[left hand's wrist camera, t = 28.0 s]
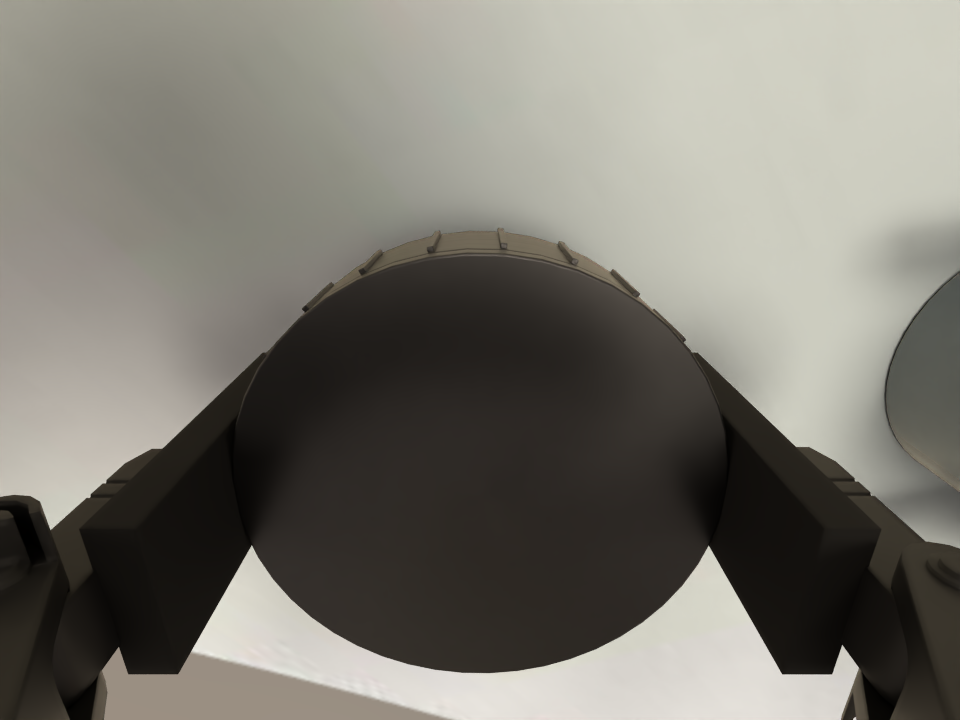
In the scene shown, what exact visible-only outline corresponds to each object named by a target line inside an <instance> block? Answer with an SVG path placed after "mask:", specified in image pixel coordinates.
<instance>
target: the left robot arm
mask: <svg viewBox="0 0 960 720" xmlns="http://www.w3.org/2000/svg"><path fill="white" fill-rule="evenodd" d="M265 354H266V353H262V354H261V355H260V356H259V357H258V358H257V359H256V360H255V361H254V362H253V363H252V364H251V365H250V366H249V367H248V368H246V369H245V370H244V371H243V372H242V373H241V374H240V375H239V376H238V377H237V378H236V379H235V380H234V381H233V382H232V383H231V384H230V385H229V386H228V387H227V388H226V389H225V390H223V391H222V392H221V393H220V394H219V395H218V396H217V397H216V398H215V399H214V400H213V401H212V402H211V403H210V404H209V405H208V406H207V407H206V408H205V409H204V410H203V411H202V412H201V413H199V414H198V415H197V416H196V417H195V418H194V419H193V420H192V421H191V422H190V423H189V424H188V425H187V426H186V427H185V428H184V429H183V430H182V431H181V432H180V433H179V434H178V435H177V436H175V437H174V438H173V439H172V440H171V441H170V442H169V443H168V444H167V445H166V446H165V447H164V448H163V449H151V450H149V451H147V452H145V453H143V454H142V455H140V456H138V457H136V458H134V459H132V460H131V461H129V462H127V463H125V464H124V465H123V466H122V467H121V468H120V469H118V470H117V471H116V472H115V473H114V474H113V475H112V476H111V477H110V478H108V479H107V480H106V481H107V482H106V484H102V485H101V486H100V487H98V488H97V489H96V490H95V491H94V492H93V493H92V494H91V497H90V498H86V499H85V500H84V501H83V502H82V503H81V504H79V505H78V506H77V507H76V508H75V509H74V510H73V511H72V512H71V513H69V514H68V515H67V516H66V517H65V518H64V519H63V520H62V521H61V522H59V523H58V524H57V525H56V526H55V527H54V528H53V529H52V530H51V531H50V528H49V525H48V522H47V520H46V517H45V514H44V511H43V509H42V506H41V503H40V501H38V500H36V499H34V498H33V497H31V496H20V495H10V496H3V497H0V720H104V714H105V706H106V699H107V687H106V681H105V678H104V676H103V673H102V669H103V668H104V666H105V665H106V664H107V662H108V661H109V659H110V658H111V657H112V655H113V654H114V653H115V651H116V650H117V648H118V647H119V648H120V651H121V654H122V657H123V660H124V663H125V666H126V669H127V672H128V674H178V673H179V672H180V670H181V668H182V666H183V665H184V663H185V661H186V659H187V658H188V656H189V654H190V652H191V651H192V649H193V647H194V645H195V644H196V642H197V640H198V638H199V637H200V635H201V633H202V631H203V630H204V628H205V626H206V624H207V623H208V621H209V619H210V617H211V616H212V614H213V612H214V610H215V609H216V607H217V605H218V603H219V602H220V600H221V598H222V596H223V595H224V593H225V591H226V589H227V587H228V586H229V584H230V582H231V580H232V579H233V577H234V575H235V573H236V572H237V570H238V568H239V566H240V565H241V563H242V561H243V559H244V558H245V556H246V554H247V552H248V551H249V549H250V547H251V545H252V544H251V542H250V540H249V538H248V536H247V534H246V532H245V529H244V526H243V523H242V520H241V517H240V514H239V509H238V504H237V499H236V494H235V489H234V484H233V473H232V449H233V442H234V434H235V427H236V422H237V419H238V415H239V412H240V409H241V405H242V402H243V399H244V396H245V394H246V392H247V390H248V388H249V385H250V383H251V381H252V379H253V377H254V375H255V373H256V371H257V369H258V367H259V366H260V365H261V363H262V362H263V360H264V359H263V357H264V355H265ZM692 354H693V355H694V357H695V358H696V360H697V362H698V363H699V365H700V366H701V368H702V369H703V371H704V373H705V374H706V376H707V378H708V380H709V382H710V385H711V387H712V389H713V392H714V394H715V396H716V399H717V401H718V403H719V406H720V410H721V414H722V418H723V422H724V426H725V430H726V437H727V448H728V459H729V464H728V478H727V488H726V493H725V498H724V502H723V507H722V512H721V517H720V519H719V522H718V524H717V527H716V529H715V532H714V535H713V537H712V540H711V542H710V544H709V547H710V548H711V550H712V552H713V554H714V555H715V557H716V559H717V561H718V562H719V564H720V566H721V568H722V569H723V571H724V573H725V575H726V576H727V578H728V580H729V582H730V583H731V585H732V587H733V589H734V590H735V592H736V594H737V596H738V597H739V599H740V601H741V603H742V604H743V606H744V608H745V610H746V611H747V613H748V615H749V617H750V618H751V620H752V622H753V624H754V625H755V627H756V629H757V631H758V632H759V634H760V636H761V638H762V639H763V641H764V643H765V645H766V646H767V648H768V650H769V652H770V653H771V655H772V657H773V659H774V661H775V662H776V664H777V666H778V668H779V669H780V671H781V673H782V674H832V673H833V670H834V667H835V664H836V661H837V658H838V655H839V652H840V650H841V647H842V645H843V646H844V648H845V649H846V650H847V652H848V653H849V655H850V656H851V657H852V659H853V660H854V661H855V663H856V664H857V666H858V667H859V670H858V673H857V675H856V678H855V681H854V684H853V686H852V689H851V692H850V695H849V697H848V700H847V703H846V706H845V708H844V711H843V714H842V718H841V720H853V718H854V717H856V719H857V720H960V549H959V548H956V547H953V546H950V545H945V544H939V543H932V542H925V541H924V540H923V539H922V538H921V537H920V536H919V535H918V534H916V533H915V532H914V531H913V530H912V529H911V528H910V527H909V526H907V525H906V524H905V523H904V522H903V521H902V520H901V519H900V518H898V517H897V516H896V515H895V514H894V513H893V512H892V511H891V510H890V509H888V508H887V507H886V506H885V505H884V504H883V503H882V502H881V501H879V500H878V499H877V498H876V497H875V496H871V495H870V492H869V491H868V490H867V489H866V488H865V487H864V486H863V485H861V484H860V483H859V482H855V480H854V479H855V478H854V477H852V476H851V475H850V474H849V473H848V472H847V471H846V470H845V469H844V468H842V467H841V466H840V465H839V464H838V463H837V462H836V461H834V460H832V459H830V458H828V457H826V456H824V455H823V454H821V453H819V452H817V451H815V450H813V449H812V448H810V447H795V446H794V445H793V444H792V443H791V442H790V441H789V440H788V439H787V438H786V437H785V436H784V435H783V434H782V433H781V432H780V431H779V430H778V429H777V428H776V427H774V426H773V425H772V424H771V423H770V422H769V421H768V420H767V419H766V418H765V417H764V416H763V415H762V414H761V413H760V412H759V411H758V410H757V409H756V408H755V407H754V406H753V405H752V404H750V403H749V402H748V401H747V400H746V399H745V398H744V397H743V396H742V395H741V394H740V393H739V392H738V391H737V390H736V389H735V388H734V387H733V386H732V385H731V384H730V383H729V382H727V381H726V380H725V379H724V378H723V377H722V376H721V375H720V374H719V373H718V372H717V371H716V370H715V369H714V368H713V367H712V366H711V365H710V364H709V363H708V362H707V361H706V360H705V359H703V358H702V357H701V356H700V355H699V354H698V353H692Z"/></svg>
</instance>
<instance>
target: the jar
mask: <svg viewBox="0 0 960 720" xmlns="http://www.w3.org/2000/svg"><path fill="white" fill-rule="evenodd" d="M886 406H887V414H888V418H889V422H890V426H891V428H892V430H893V432H894V434H895V437H896V439H897V440H898V442H899V443H900V444H901V446H902V447H903V449H904V450H905V451H906V452H907V453H908V454H909V455H910V456H911V457H912V458H913V459H915V460H916V461H918V462H919V463H920V464H922V465H923V466H924V467H926V468H927V469H928V470H930V471H931V472H933V473H934V474H935V475H937V476H938V477H939V478H941V479H942V480H943V481H945V482H946V483H948V484H949V485H950V486H952V487H953V488H954V489H956V490H957V491H958V492H960V272H959V273H958V274H957V275H956V276H955V277H954V278H952V279H951V280H950V281H949V282H948V283H946V284H945V285H944V286H943V287H942V288H941V289H940V290H939V291H938V292H937V293H936V294H935V295H934V296H933V297H932V298H931V299H930V300H929V301H928V302H927V304H926V305H925V306H924V307H923V309H922V310H921V311H920V312H919V314H918V315H917V316H916V317H915V319H914V320H913V322H912V323H911V325H910V327H909V328H908V330H907V331H906V333H905V334H904V336H903V338H902V340H901V342H900V344H899V346H898V348H897V350H896V353H895V356H894V358H893V361H892V364H891V367H890V371H889V376H888V380H887V389H886Z"/></svg>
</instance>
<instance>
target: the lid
mask: <svg viewBox="0 0 960 720" xmlns="http://www.w3.org/2000/svg"><path fill="white" fill-rule="evenodd" d="M639 295H640V293H639V292H638V291H637V290H636V289H635V288H634V287H632V286H631V285H630V284H629V283H628V282H627V281H626V280H625V279H624V278H623V277H622V276H621V275H620V274H619V273H617V272H616V271H615V270H614V269H613V270H612V271H611V272H609V271H608V270H606V269H605V268H603V267H601V266H600V265H598V264H597V263H595V262H593V261H592V260H590V259H589V258H587V257H585V256H583V255H581V254H578V253H576V252H574V251H572V250H570V249H569V248H568V247H567V246H566V245H565V243H563V242H561V241H559V243H558V244H554V243H551V242H548V241H544V240H541V239H537V238H534V237H531V236H524V235H518V234H511V233H505V232H504V229H503V228H498V232H487V231H466V232H457V233H449V234H441V233H440V231H436V232H435V233H434V235H433V236H431V237H427V238H423V239H419V240H416V241H412V242H408V243H406V244H403V245H401V246H398V247H396V248H393V249H391V250H388V251H386V252H382V251H381V250H379V251H377V252H376V253H375V254H374V255H373V256H372V257H371V258H370V259H369V260H368V261H367V262H365V263H364V264H362V265H360V266H358V267H357V268H355V269H354V270H353V271H351V272H350V273H349V274H348V275H346V276H345V277H344V278H342V279H341V280H340V281H339V282H337V283H336V284H335V285H334V284H333V283H332V282H331V283H330V284H328V285H327V286H326V287H325V288H324V289H323V290H322V291H321V292H320V293H319V294H317V295H316V296H315V297H314V298H313V299H312V300H311V301H310V302H309V303H308V304H307V305H305V306H304V307H303V308H302V310H303V311H304V312H305V313H304V314H303V315H302V316H301V317H300V318H299V319H298V320H297V321H296V322H295V323H294V324H293V325H292V326H291V327H290V328H289V329H288V330H287V331H286V332H285V334H284V335H283V336H282V337H281V338H280V339H279V340H278V341H277V342H276V343H275V345H274V346H273V347H272V348H271V349H270V350H269V351H268V352H267V353H266V354H265V355H264V357H263V359H264V360H263V362H262V363H261V365H260V366H259V367H258V369H257V371H256V373H255V375H254V377H253V379H252V381H251V383H250V385H249V388H248V390H247V392H246V394H245V396H244V399H243V402H242V405H241V409H240V412H239V415H238V419H237V422H236V427H235V434H234V442H233V449H232V473H233V484H234V489H235V494H236V499H237V504H238V509H239V514H240V517H241V520H242V523H243V526H244V529H245V532H246V534H247V536H248V538H249V540H250V542H251V544H252V546H253V548H254V550H255V552H256V554H257V556H258V558H259V559H260V561H261V562H262V564H263V565H264V566H265V568H266V569H267V571H268V572H269V574H270V575H271V577H272V578H273V580H274V581H275V582H276V583H277V584H278V585H279V586H280V587H281V588H282V590H283V591H284V592H285V593H286V594H287V595H288V596H289V597H290V599H291V600H292V601H294V602H295V603H296V604H297V605H298V606H299V607H300V608H302V609H303V610H304V611H305V612H306V613H307V614H308V615H310V616H311V617H312V618H313V619H315V620H316V621H318V622H319V623H321V624H322V625H323V626H325V627H326V628H328V629H329V630H331V631H332V632H333V633H335V634H337V635H339V636H341V637H343V638H344V639H346V640H348V641H350V642H352V643H353V644H355V645H357V646H359V647H362V648H364V649H367V650H369V651H371V652H374V653H376V654H378V655H381V656H384V657H387V658H390V659H393V660H397V661H400V662H403V663H406V664H410V665H415V666H420V667H425V668H430V669H434V670H443V671H452V672H461V673H496V672H509V671H519V670H525V669H531V668H536V667H542V666H546V665H550V664H554V663H557V662H561V661H565V660H568V659H571V658H574V657H577V656H579V655H582V654H584V653H587V652H590V651H592V650H595V649H597V648H599V647H601V646H603V645H605V644H607V643H609V642H611V641H613V640H615V639H617V638H619V637H621V636H622V635H624V634H625V633H627V632H628V631H630V630H631V629H633V628H634V627H636V626H638V625H639V624H641V623H642V622H643V621H645V620H646V619H647V618H648V617H650V616H651V615H652V614H653V613H654V612H656V611H657V610H658V609H659V608H661V607H662V606H663V605H664V604H665V603H666V602H667V601H668V600H669V599H670V598H671V597H672V596H673V595H674V594H675V593H676V592H677V590H678V589H679V588H680V587H681V586H682V585H683V584H684V582H685V581H686V580H687V578H688V577H689V576H690V574H691V573H692V572H693V570H694V569H695V568H696V566H697V565H698V563H699V562H700V560H701V558H702V556H703V555H704V553H705V551H706V549H707V547H708V546H709V544H710V542H711V540H712V537H713V535H714V532H715V529H716V527H717V524H718V522H719V519H720V517H721V512H722V507H723V502H724V498H725V493H726V488H727V478H728V464H729V459H728V448H727V437H726V430H725V426H724V422H723V418H722V414H721V410H720V406H719V403H718V401H717V399H716V396H715V394H714V392H713V389H712V387H711V385H710V382H709V380H708V378H707V376H706V374H705V373H704V371H703V369H702V368H701V366H700V365H699V363H698V362H697V360H696V358H695V357H694V355H693V354H692V352H691V351H690V349H689V348H688V347H687V346H686V345H685V344H684V341H686V339H685V338H684V337H683V335H681V334H680V333H679V332H678V331H677V330H676V329H675V328H674V327H673V326H672V325H671V324H670V323H669V322H668V321H667V320H666V319H665V318H663V317H662V316H661V315H660V314H659V313H658V312H657V311H656V310H655V309H653V310H652V309H651V308H650V307H649V306H648V305H647V304H646V303H645V302H644V301H643V300H642V299H641V298H640V297H639Z"/></svg>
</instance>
